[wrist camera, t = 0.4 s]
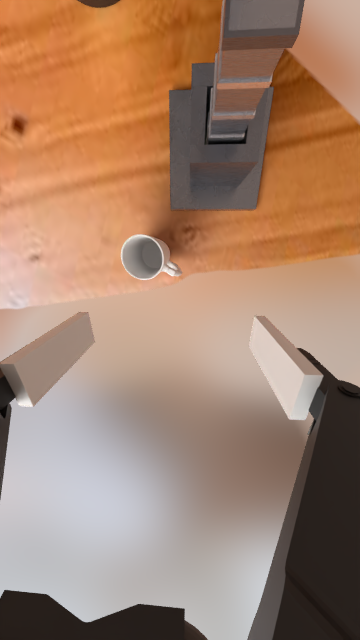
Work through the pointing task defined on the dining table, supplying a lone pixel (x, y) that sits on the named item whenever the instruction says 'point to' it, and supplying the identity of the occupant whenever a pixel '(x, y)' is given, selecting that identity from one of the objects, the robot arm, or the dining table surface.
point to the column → (247, 61)
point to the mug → (147, 257)
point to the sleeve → (213, 151)
